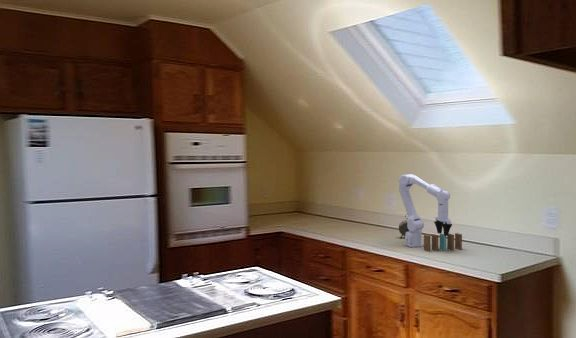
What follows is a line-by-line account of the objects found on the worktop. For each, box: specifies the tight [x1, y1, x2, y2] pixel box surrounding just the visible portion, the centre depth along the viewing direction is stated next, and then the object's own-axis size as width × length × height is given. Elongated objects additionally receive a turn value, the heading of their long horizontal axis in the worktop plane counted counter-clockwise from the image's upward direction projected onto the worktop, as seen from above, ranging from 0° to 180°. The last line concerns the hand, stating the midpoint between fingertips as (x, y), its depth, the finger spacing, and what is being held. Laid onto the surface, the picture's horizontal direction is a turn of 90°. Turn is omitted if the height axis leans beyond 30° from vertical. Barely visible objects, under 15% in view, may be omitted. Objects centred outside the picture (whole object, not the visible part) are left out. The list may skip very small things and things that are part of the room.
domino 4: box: [454, 232, 463, 251], centre depth 296 cm, size 2×5×9 cm, turn 12°
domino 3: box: [446, 232, 455, 251], centre depth 295 cm, size 2×5×9 cm, turn 12°
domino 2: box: [431, 233, 439, 252], centre depth 293 cm, size 2×5×9 cm, turn 12°
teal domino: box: [439, 233, 447, 252], centre depth 294 cm, size 2×5×9 cm, turn 11°
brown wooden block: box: [423, 234, 431, 253], centre depth 292 cm, size 2×5×9 cm, turn 12°
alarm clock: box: [398, 213, 409, 239], centre depth 332 cm, size 11×5×16 cm, turn 90°
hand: (442, 234), depth 294 cm, fingers open, 7 cm apart
